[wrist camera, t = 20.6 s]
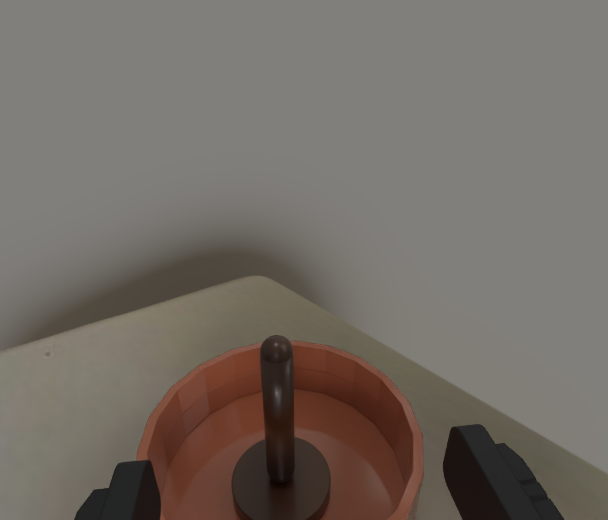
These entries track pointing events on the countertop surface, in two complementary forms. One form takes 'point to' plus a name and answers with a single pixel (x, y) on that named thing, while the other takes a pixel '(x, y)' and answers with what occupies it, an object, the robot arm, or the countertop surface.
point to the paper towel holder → (280, 452)
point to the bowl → (307, 425)
